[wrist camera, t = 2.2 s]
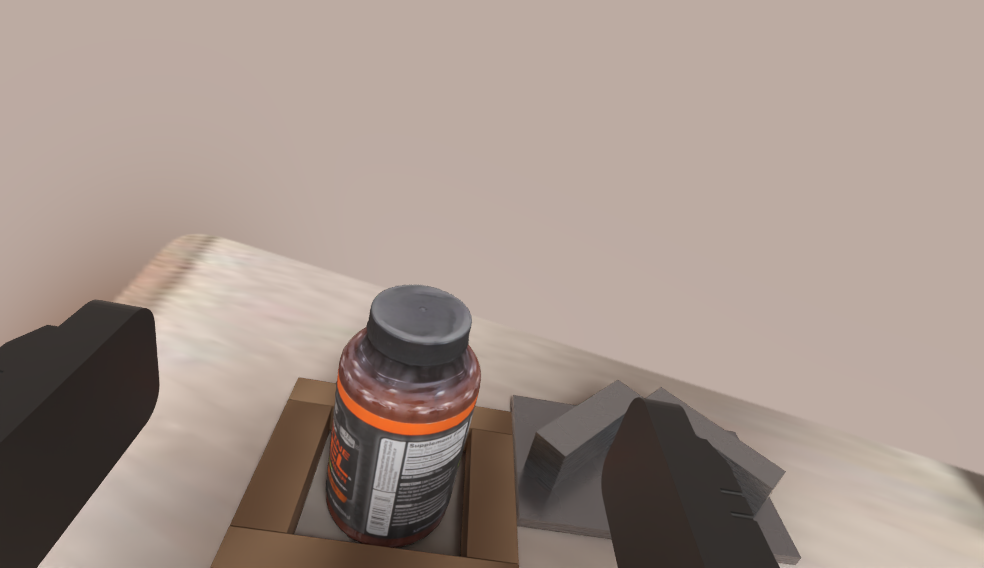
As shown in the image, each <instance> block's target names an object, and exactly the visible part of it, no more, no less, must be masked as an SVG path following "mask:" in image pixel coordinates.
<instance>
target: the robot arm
mask: <svg viewBox="0 0 984 568" xmlns="http://www.w3.org/2000/svg"><path fill="white" fill-rule="evenodd" d="M158 394H159V371H158V358H157V345H156V332H155V321H154V316H153V314H152V312H151V311H150V310H149V309H147V308H142V307H136V306H130V305H125V304H119V303H113V302H108V301H102V300H92V301H90V302H88V303H87V304H85V305H84V306H83V307H82V308H80V309H79V310H78V311H77V312H76V313H74V314H73V315H72V316H71V317H70V318H68V319H67V320H66V321H65V322H64V323H62V324H61V325H60V326H59V327H57V326H51V325H46V326H44V327H41V328H39V329H37V330H34V331H32V332H30V333H27V334H25V335H23V336H21V337H18V338H16V339H13V340H11V341H9V342H7V343H5V344H4V345H3V346H1V347H0V568H37V567H38V566H39V564H40V563H41V562H42V560H43V559H44V558H45V556H46V555H47V554H48V552H49V551H50V550H51V548H52V547H53V546H54V545H55V543H56V542H57V541H58V539H59V538H60V537H61V535H62V534H63V533H64V531H65V530H66V529H67V527H68V526H69V525H70V523H71V522H72V521H73V519H74V518H75V517H76V516H77V514H78V513H79V512H80V510H81V509H82V508H83V506H84V505H85V504H86V502H87V501H88V500H89V498H90V497H91V496H92V494H93V493H94V492H95V490H96V489H97V488H98V487H99V485H100V484H101V483H102V481H103V480H104V479H105V477H106V476H107V475H108V473H109V472H110V471H111V469H112V468H113V467H114V465H115V464H116V463H117V461H118V460H119V459H120V458H121V456H122V455H123V454H124V452H125V451H126V450H127V448H128V447H129V446H130V444H131V443H132V442H133V440H134V439H135V438H136V436H137V435H138V434H139V432H140V431H141V430H142V429H143V427H144V426H145V425H146V423H147V422H148V420H149V418H150V417H151V415H152V413H153V410H154V408H155V405H156V402H157V398H158ZM601 489H602V497H603V501H604V506H605V511H606V515H607V520H608V524H609V529H610V533H611V538H612V543H613V547H614V552H615V556H616V561H617V566H618V568H780V567H779V565H778V563H777V561H776V559H775V557H774V555H773V553H772V551H771V549H770V547H769V545H768V543H767V541H766V539H765V537H764V535H763V532H762V530H761V528H760V526H759V524H758V522H757V521H754V519H753V516H754V514H753V512H752V510H751V508H750V506H749V504H748V502H747V500H746V498H745V497H742V490H741V488H740V486H739V484H738V482H737V479H736V477H735V475H734V473H733V471H732V469H731V467H730V465H729V464H728V463H727V462H726V460H725V459H724V458H723V457H722V456H721V455H720V454H719V453H718V452H717V450H716V449H715V448H714V447H713V446H712V445H711V444H710V443H709V442H708V440H707V439H702V438H697V437H696V434H695V432H694V430H693V428H692V425H691V423H690V421H689V419H688V416H687V414H686V412H685V410H684V408H683V407H682V406H681V405H679V404H674V403H668V402H663V401H657V400H652V399H646V398H640V397H637V398H635V399H634V400H633V401H632V402H631V403H630V405H629V407H628V409H627V411H626V414H625V416H624V418H623V420H622V423H621V425H620V427H619V429H618V431H617V434H616V436H615V438H614V440H613V443H612V445H611V447H610V449H609V451H608V454H607V456H606V458H605V461H604V465H603V470H602V478H601Z"/></svg>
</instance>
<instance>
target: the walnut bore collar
mask: <svg viewBox="0 0 984 568" xmlns="http://www.w3.org/2000/svg"><path fill="white" fill-rule="evenodd" d="M335 392H336V383H330V382H324V381H318V380H311V379H305V378H298V380H297V382H296V384H295V386H294V388H293V391H292V393H291V395H290V397H289V400H288V401H287V404H286V406H285V408H284V410H283V412H282V414H281V416H280V419H279V421H278V423H277V425H276V427H275V429H274V431H273V434H272V436H271V438H270V440H269V442H268V444H267V447H266V449H265V451H264V453H263V455H262V457H261V459H260V462H259V464H258V466H257V468H256V470H255V472H254V475H253V477H252V479H251V481H250V483H249V485H248V487H247V490H246V492H245V494H244V496H243V498H242V500H241V502H240V505H239V507H238V509H237V511H236V513H235V515H234V518H233V520H232V522H231V524H230V526H229V528H228V530H227V533H226V535H225V537H224V539H223V541H222V543H221V545H220V548H219V550H218V552H217V554H216V556H215V558H214V561H213V563H212V565H211V568H519V565H518V564H519V560H518V539H517V518H516V497H515V476H514V455H513V435H512V413H511V412H508V411H502V410H496V409H489V408H483V407H477V406H475V408H474V412H473V415H472V419H471V423H470V427H469V431H468V434H467V438H466V442H465V445H464V449H463V451H466V455H465V475H464V495H463V514H462V534H461V554H460V557H457V556H450V555H442V554H435V553H427V552H420V551H412V550H405V549H397V548H389V547H382V546H374V545H367V544H359V543H352V542H344V541H337V540H329V539H322V538H314V537H307V536H299V535H294V532H295V529H296V527H297V524H298V521H299V518H300V515H301V512H302V509H303V506H304V503H305V501H306V498H307V495H308V492H309V489H310V486H311V483H312V480H313V477H314V474H315V472H316V469H317V466H318V463H319V460H320V457H321V454H322V451H323V448H324V445H325V443H326V440H327V437H328V434H329V430H330V431H332V424H333V414H334V406H335Z"/></svg>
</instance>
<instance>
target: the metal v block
mask: <svg viewBox="0 0 984 568" xmlns="http://www.w3.org/2000/svg"><path fill="white" fill-rule="evenodd" d="M637 397H640V398H643V397H642V396H640V395H639V394H637V393H636V392H635V391H633V390H632V389H630V388H629V387H628V386H626V385H625V384H623V383H622V382H620V381H619V380H617V381H615V382H614V383H612V384H610V385H609V386H607V387H606V388H604V389H603V390H601V391H599V392H598V393H596V394H595V395H593V396H592V397H590V398H588V399H587V400H585V401H584V402H582V403H580V404H579V405H577V406H576V405H570V404H564V403H558V402H552V401H546V400H540V399H534V398H528V397H522V396H516V395H513V397H512V401H511V411H512V432H513V453H514V474H515V494H516V515H517V526H523V527H530V528H537V529H544V530H551V531H558V532H565V533H572V534H579V535H587V536H594V537H601V538H608V539H612V538H611V533H610V529H609V524H608V520H607V515H606V511H605V506H604V501H603V497H602V489H601V478H602V470H603V465H604V461H605V458H606V456H607V454H608V451H609V449H610V447H611V445H612V443H613V440H614V438H615V436H616V434H617V431H618V429H619V427H620V425H621V423H622V420H623V418H624V416H625V414H626V411H627V409H628V407H629V405H630V403H631V402H632V401H633V400H634V399H635V398H637ZM646 399H652V400H657V401H663V402H668V403H674V404H679V405H681V406H682V407H683V408H684V410H685V412H686V414H687V416H688V419H689V421H690V423H691V425H692V428H693V430H694V432H695V434H696V437H697V438H702V439H707V440H708V442H709V443H710V444H711V445H712V446H713V447H714V448H715V449H716V450H717V452H718V453H719V454H720V455H721V456H722V457H723V458H724V459H725V460H726V462H727V463H728V464H729V465H730V467H731V469H732V471H733V473H734V475H735V477H736V479H737V482H738V484H739V486H740V488H741V490H742V497H745V498H746V500H747V502H748V504H749V506H750V508H751V510H752V512H753V514H754V516H753V519H754V521H757V522H758V524H759V526H760V528H761V530H762V532H763V535H764V537H765V539H766V541H767V543H768V545H769V547H770V549H771V551H772V553H773V555H774V557H775V559H776V561H777V562H778V563H786V564H793V565H796V564H797V563H798V561H799V560H800V559H801V556H800V555H799V553H798V551H797V549H796V547H795V545H794V543H793V541H792V539H791V537H790V536H789V534H788V532H787V530H786V528H785V526H784V524H783V522H782V520H781V518H780V517H779V515H778V513H777V511H776V509H775V507H774V505H773V503H772V501H771V499H770V497H769V496H770V494H771V493H772V491H773V490H774V488H775V487H776V485H777V484H778V482H779V481H780V480H781V478H782V477H783V475H784V474H785V472H786V471H784V470H783V469H781V468H780V467H778V466H777V465H775V464H774V463H772V462H771V461H769V460H768V459H766V458H765V457H764V456H762V455H761V454H759V453H758V452H756V451H755V450H753V449H752V448H750V447H749V446H747V445H746V444H744V443H743V442H741V441H740V440H739V438H738V437H737V435H736V433H735V432H732V431H726V430H724V429H722V428H721V427H719V426H718V425H716V424H715V423H713V422H712V421H710V420H709V419H707V418H706V417H704V416H703V415H701V414H700V413H698V412H697V411H696V410H694V409H693V408H691V407H690V406H688V405H687V404H685V403H684V402H682V401H681V400H679V399H678V398H676V397H675V396H673V395H672V394H670V393H669V392H667V391H666V390H664V389H663V388H662V387H661V388H659V389H658V390H657V391H655V392H654V393H652V394H651V395H650V396H648V397H647V398H646Z"/></svg>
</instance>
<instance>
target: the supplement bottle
mask: <svg viewBox="0 0 984 568" xmlns="http://www.w3.org/2000/svg"><path fill="white" fill-rule="evenodd" d="M471 323H472V319H471V314H470V311H469V309H468V308H467V307H466V306H465V304H464V303H463V302H461V301H460V300H459V299H458V298H456V297H454V296H453V295H452V294H449V293H448V292H445V291H442V290H440V289H437V288H434V287H429V286H423V285H402V286H395V287H392V288H388V289H386V290H384V291H382V292H381V293H379V294H378V295H377V296H376V297H375V299H374V300H373V302H372V305H371V309H370V315H369V321H368V322H367V326H366V327H365V328H364V329H362V330H361V331H359V332H358V333H357V334H356V335H355V336H353V337H352V339H351V340H350V341H349V342H348V344H347V345H346V346H345V348H344V349H343V352H342V355H341V358H340V362H339V369H338V378H337V383H336V392H335V406H334V414H333V424H332V436H331V443H330V453H329V463H328V472H327V481H326V492H327V505H328V508H329V511H330V514H331V516H332V518H333V519H334V521H335V522H336V524H337V525H338V526H339V527H340V529H341V530H342V531H343V532H345V533H346V534H347V535H348V536H349V537H350V538H352V539H355V540H356V541H359V542H361V543H363V544H367V545H374V546H382V547H389V548H395V547H401V546H405V545H409V544H412V543H414V542H416V541H418V540H420V539H422V538H424V537H426V536H427V535H428V534H429V533H431V532H432V531H433V530H434V529H435V528H436V527H437V526H438V524H439V523H440V521H441V519H442V517H443V516H444V514H445V511H446V508H447V506H448V503H449V500H450V497H451V493H452V489H453V486H454V482H455V478H456V475H457V471H458V467H459V464H460V460H461V456H462V452H463V449H464V445H465V442H466V438H467V434H468V431H469V427H470V423H471V419H472V415H473V412H474V408H475V404H476V400H477V397H478V393H479V388H480V381H481V371H480V366H479V362H478V359H477V357H476V355H475V353H474V352H473V350H472V349H471V347H470V346H469V345H468V341H469V332H470V329H471Z"/></svg>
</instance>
